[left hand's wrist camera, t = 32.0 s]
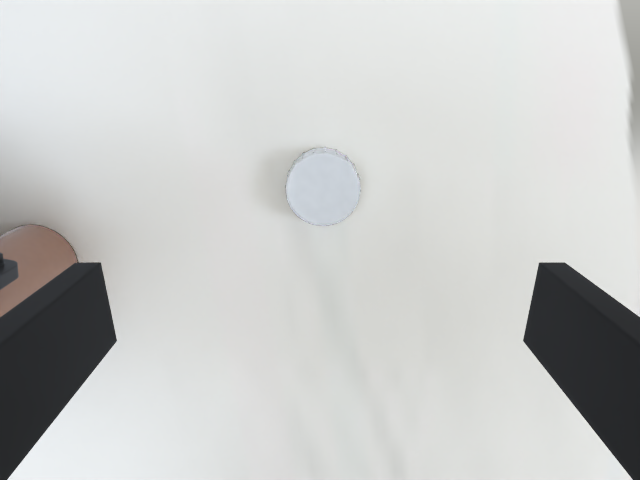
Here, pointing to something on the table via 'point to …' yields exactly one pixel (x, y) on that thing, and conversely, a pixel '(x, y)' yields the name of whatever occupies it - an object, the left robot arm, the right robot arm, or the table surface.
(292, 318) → the table surface
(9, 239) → the bottle
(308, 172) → the cap
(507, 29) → the table surface
